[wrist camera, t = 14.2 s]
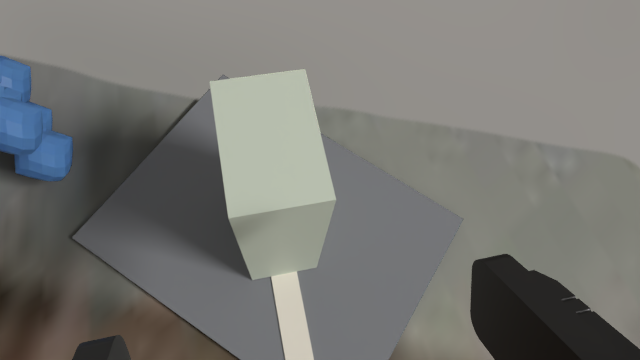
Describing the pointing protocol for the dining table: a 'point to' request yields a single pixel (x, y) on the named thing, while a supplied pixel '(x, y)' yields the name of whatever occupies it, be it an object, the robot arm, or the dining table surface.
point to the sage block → (273, 170)
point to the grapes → (30, 128)
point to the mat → (281, 290)
